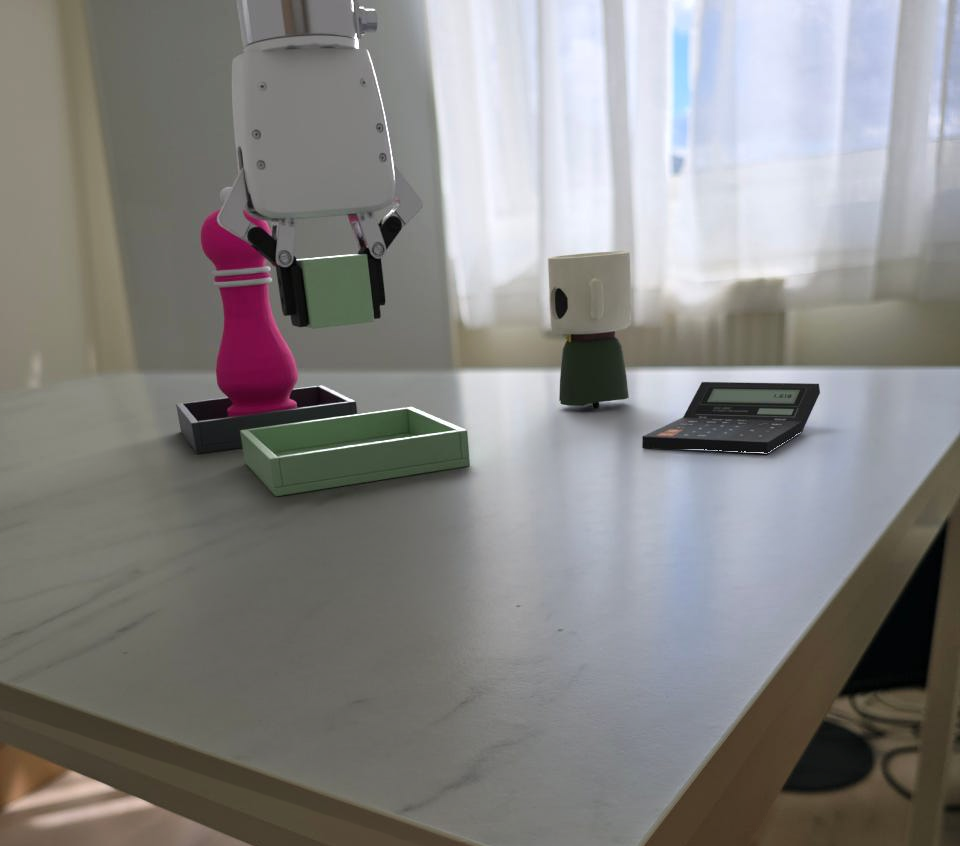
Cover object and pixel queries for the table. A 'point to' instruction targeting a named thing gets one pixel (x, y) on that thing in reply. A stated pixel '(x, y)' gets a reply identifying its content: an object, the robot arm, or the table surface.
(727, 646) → the table surface
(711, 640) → the table surface
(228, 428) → the dark tray
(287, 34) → the robot arm
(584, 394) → the character mug
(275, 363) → the pepper mill
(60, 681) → the table surface
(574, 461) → the table surface
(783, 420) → the calculator
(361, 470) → the sage tray
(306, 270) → the sage block
